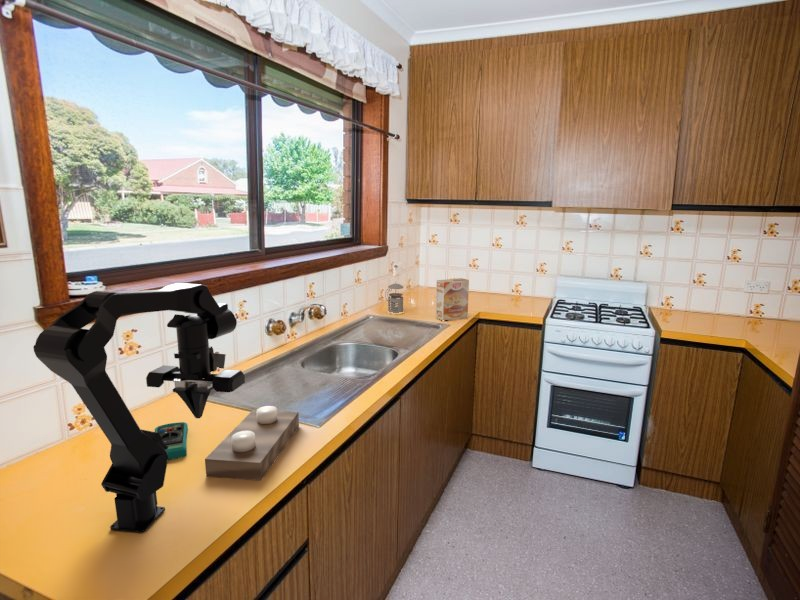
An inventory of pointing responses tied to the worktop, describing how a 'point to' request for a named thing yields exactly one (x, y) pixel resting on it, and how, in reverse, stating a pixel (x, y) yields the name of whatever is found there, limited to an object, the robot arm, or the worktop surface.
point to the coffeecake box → (452, 299)
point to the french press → (393, 298)
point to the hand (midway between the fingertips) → (198, 417)
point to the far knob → (266, 414)
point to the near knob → (243, 441)
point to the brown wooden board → (261, 456)
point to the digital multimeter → (174, 439)
